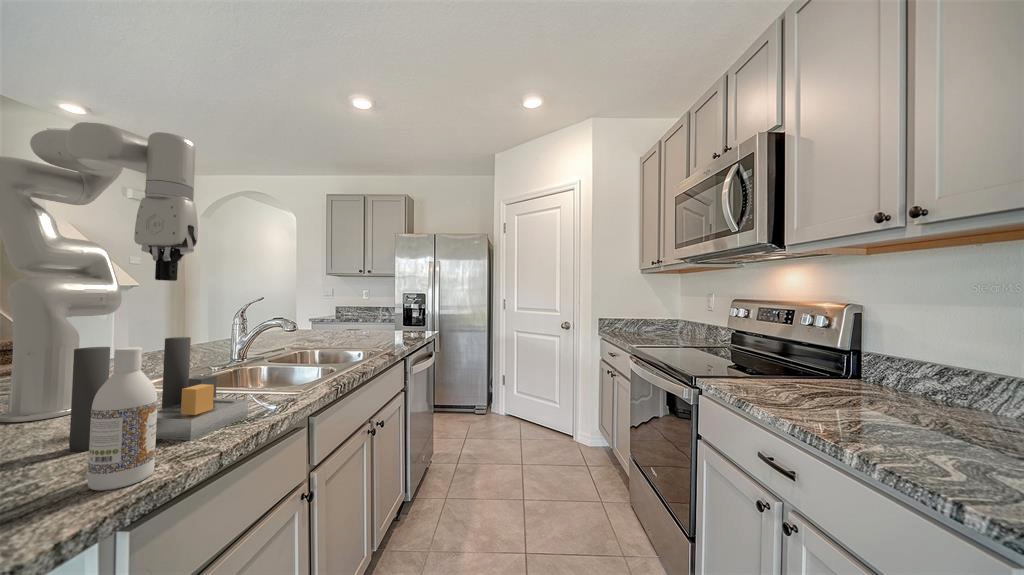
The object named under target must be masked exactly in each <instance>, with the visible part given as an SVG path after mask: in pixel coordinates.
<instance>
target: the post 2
mask: <svg viewBox="0 0 1024 575" xmlns="http://www.w3.org/2000/svg"><path fill="white" fill-rule="evenodd" d="M191 340H192V337H189V336H179V337H178V336H177V337H176V336H175V337H166V338H164V354H163V374H162V392H161V393H162V394H161V395H162V396H161V409H163V408H166V407H170V406H173V405H176V404H180V403H181V401H182V389H184V388H188V379H190V363H191V362H190V358H191V343H192V342H191Z"/></svg>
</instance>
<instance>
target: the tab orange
mask: <svg viewBox="0 0 1024 575" xmlns="http://www.w3.org/2000/svg"><path fill="white" fill-rule="evenodd" d="M213 394H214V385H207V384H199V385H196V386H192V387H188V388H184V389H182V401H181V414H185V415H196V414H199V413H202V412H205V411H208V410H211V409H213Z"/></svg>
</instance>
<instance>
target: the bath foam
mask: <svg viewBox="0 0 1024 575" xmlns="http://www.w3.org/2000/svg"><path fill="white" fill-rule="evenodd" d="M142 353H143V348H142V347H141V346H127V347H119V348H118V347H117V348H115V349H114V354H113V355H114V356H113V357H114V358H113V373H112V374H111V375H109V379H108V380H107V381H106V382H105V383H104V384H103V385H102V387H101V388H100V389H99V390H98V392H97V394H96V395H95V398H94V400H93V403H92V409H91V421H90V441H89V451H88V461H87V462H88V464H87V465H88V466H87V467H88V468H87V472H88V473H87V487H88V488H89V489H90V490H93V491H111V490H116V489H121V488H124V487H128V486H131V485H134V484H137V483H140V482H141V481H144V480H145V479H148V478H149V477H150V476H151V475H152V474H153V473H154V471H155V463H156V462H155V459H156V440H157V439H156V422H157V410H158V394H157V389H156V387H155V385H154V384H153V382H152V381H151V380H150V379H149V377H147V374H145V373H144V372H143V371H142V370H141V369H142V361H143V360H142V355H143V354H142Z"/></svg>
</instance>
